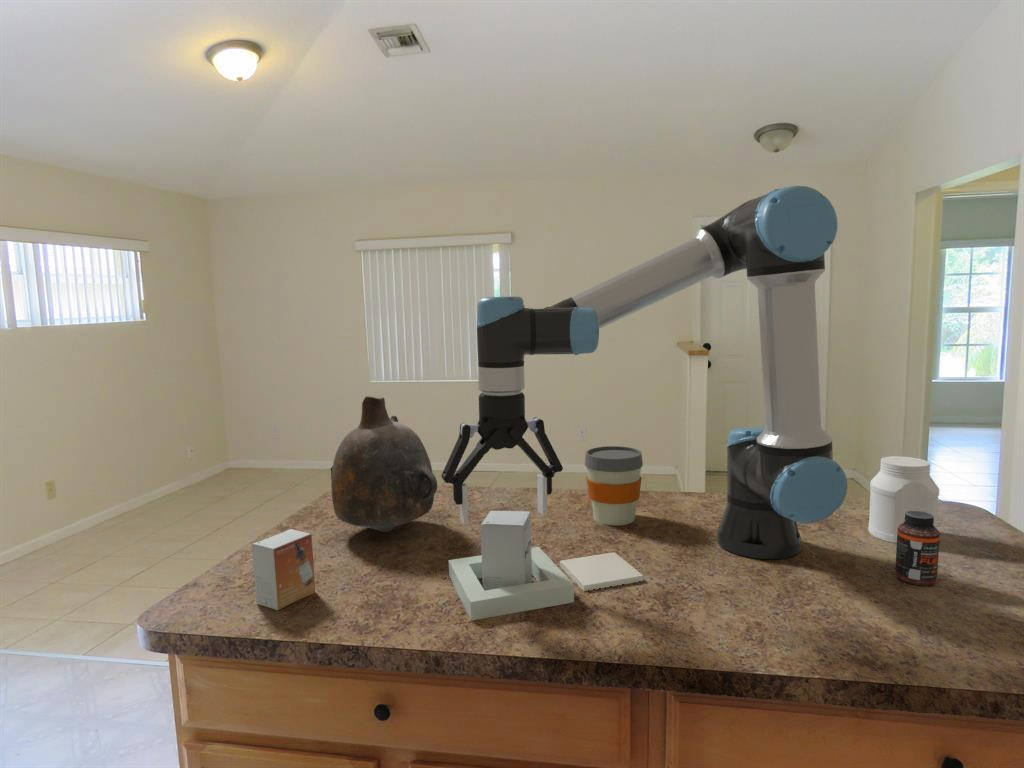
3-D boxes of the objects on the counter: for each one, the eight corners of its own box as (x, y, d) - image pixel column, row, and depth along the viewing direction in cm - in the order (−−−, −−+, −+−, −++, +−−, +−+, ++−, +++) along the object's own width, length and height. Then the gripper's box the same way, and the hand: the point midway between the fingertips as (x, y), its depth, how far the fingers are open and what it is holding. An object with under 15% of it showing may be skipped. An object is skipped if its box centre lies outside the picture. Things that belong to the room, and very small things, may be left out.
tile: (614, 557, 119) (614, 552, 119) (643, 581, 109) (643, 575, 108) (559, 565, 116) (559, 560, 116) (583, 591, 105) (583, 585, 105)
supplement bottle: (923, 590, 102) (927, 522, 101) (887, 576, 107) (890, 512, 106) (944, 581, 105) (948, 515, 103) (908, 569, 110) (911, 506, 109)
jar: (922, 527, 129) (926, 455, 127) (945, 545, 120) (949, 468, 118) (861, 525, 131) (864, 454, 129) (879, 542, 122) (882, 467, 120)
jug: (445, 512, 148) (439, 385, 144) (437, 548, 126) (430, 399, 123) (340, 517, 147) (331, 389, 143) (314, 553, 126) (303, 404, 122)
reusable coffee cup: (576, 522, 138) (574, 455, 136) (599, 506, 149) (598, 443, 147) (630, 532, 132) (630, 461, 130) (651, 514, 142) (650, 448, 140)
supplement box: (526, 600, 103) (523, 525, 101) (481, 597, 104) (478, 523, 103) (533, 580, 110) (531, 510, 109) (492, 578, 112) (489, 509, 110)
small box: (277, 612, 102) (272, 549, 100) (255, 604, 105) (250, 543, 103) (316, 592, 108) (312, 533, 107) (295, 585, 111) (290, 527, 110)
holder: (538, 562, 118) (538, 546, 117) (574, 602, 102) (573, 584, 101) (449, 576, 113) (448, 560, 113) (471, 620, 97) (470, 602, 96)
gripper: (564, 385, 110) (565, 503, 113) (421, 393, 103) (426, 519, 106) (581, 390, 103) (581, 516, 106) (429, 399, 96) (434, 534, 99)
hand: (504, 517), depth 106 cm, fingers open, 13 cm apart
